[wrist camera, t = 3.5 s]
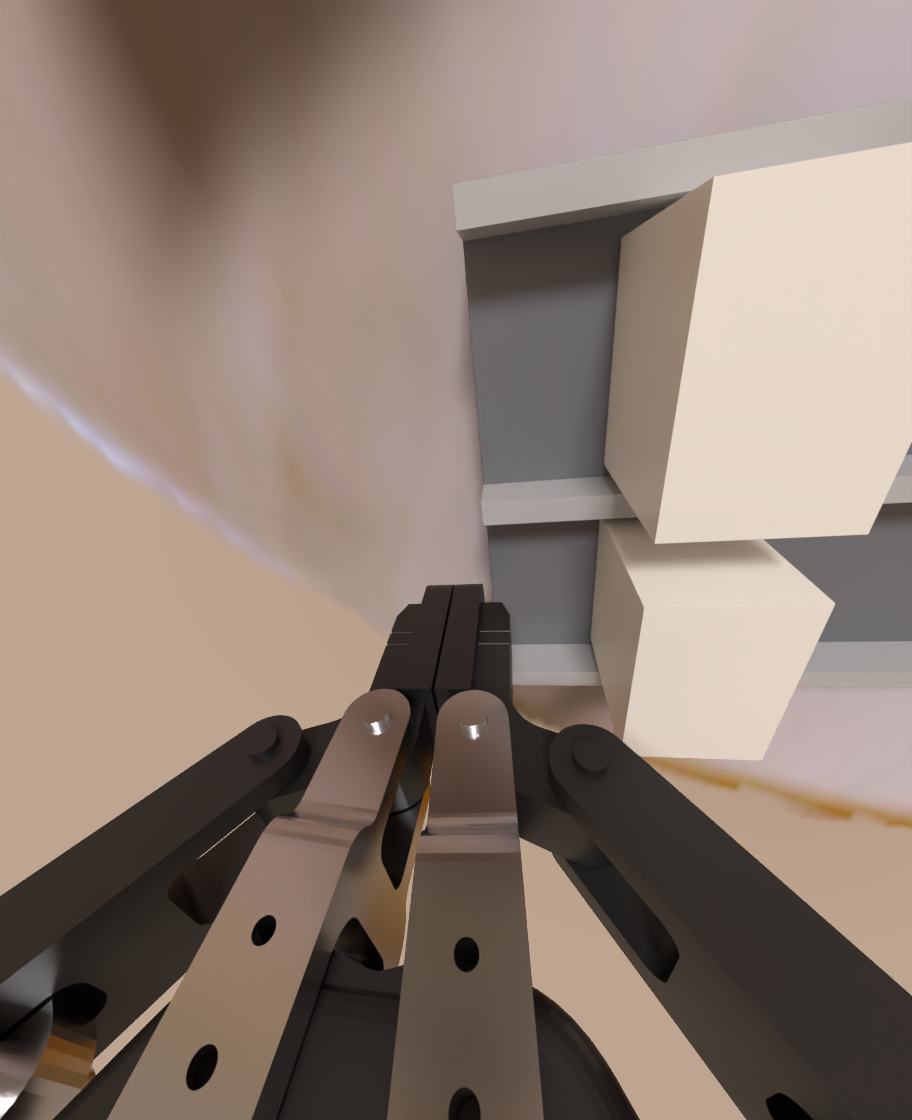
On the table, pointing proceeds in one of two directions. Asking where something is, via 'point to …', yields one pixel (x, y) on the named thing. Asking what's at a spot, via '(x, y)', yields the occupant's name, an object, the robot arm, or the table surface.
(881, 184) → the near tab
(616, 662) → the far tab
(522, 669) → the switch panel
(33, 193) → the table surface
